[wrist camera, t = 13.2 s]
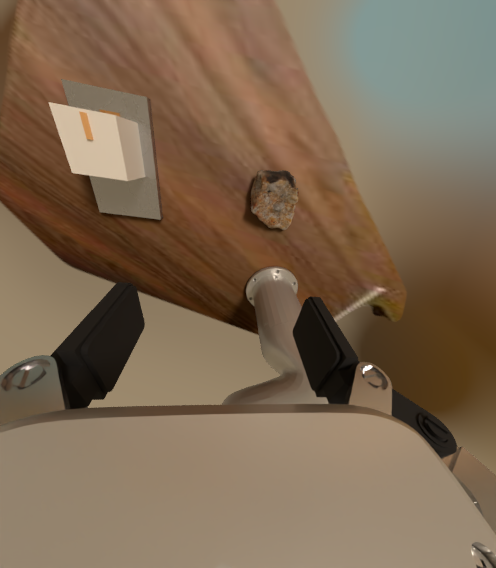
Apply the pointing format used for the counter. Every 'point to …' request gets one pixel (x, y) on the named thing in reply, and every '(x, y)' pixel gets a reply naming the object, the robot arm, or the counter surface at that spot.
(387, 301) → the counter surface
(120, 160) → the orange-striped white cube
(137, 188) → the plate
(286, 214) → the rock
